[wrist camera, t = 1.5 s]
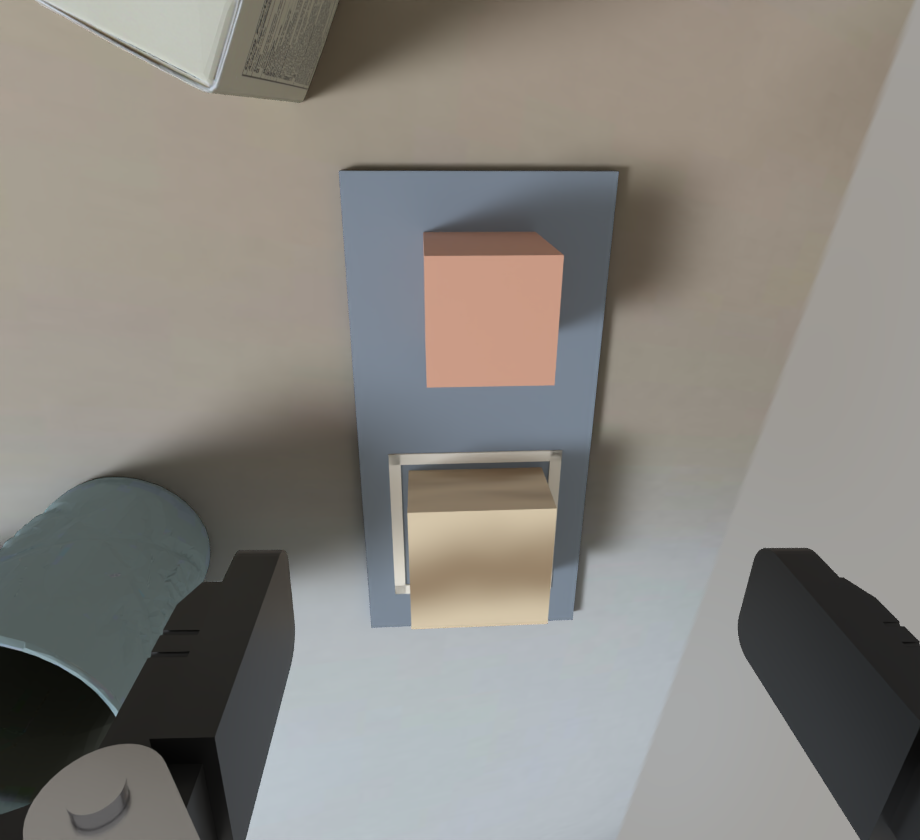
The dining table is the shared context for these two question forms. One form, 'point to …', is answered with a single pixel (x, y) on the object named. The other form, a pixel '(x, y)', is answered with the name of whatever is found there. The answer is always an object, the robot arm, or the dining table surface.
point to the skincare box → (215, 40)
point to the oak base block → (480, 547)
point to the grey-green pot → (85, 619)
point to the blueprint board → (468, 408)
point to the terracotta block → (491, 308)
